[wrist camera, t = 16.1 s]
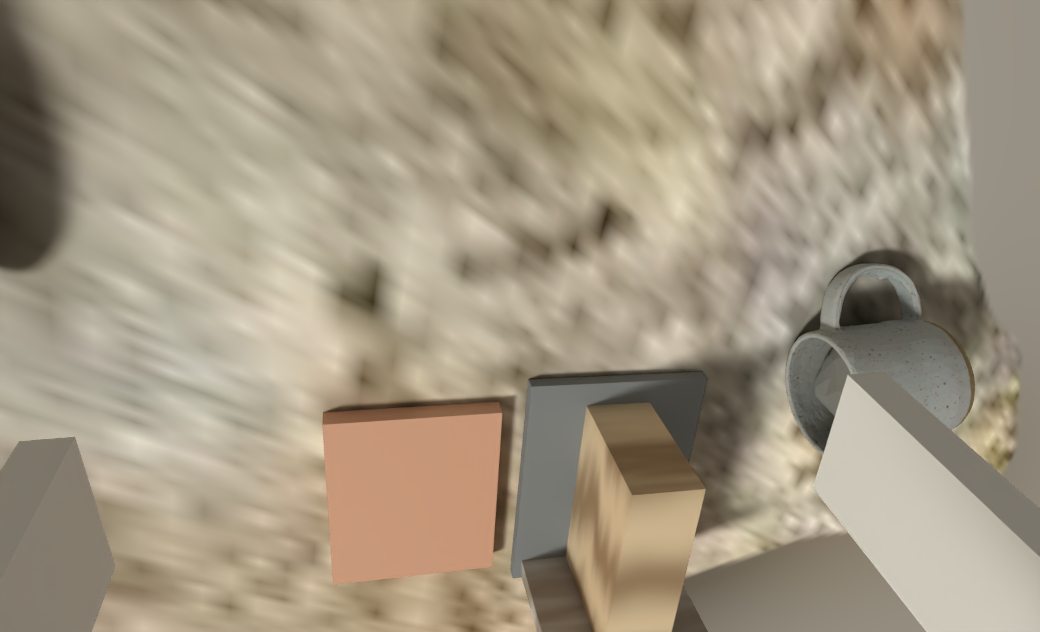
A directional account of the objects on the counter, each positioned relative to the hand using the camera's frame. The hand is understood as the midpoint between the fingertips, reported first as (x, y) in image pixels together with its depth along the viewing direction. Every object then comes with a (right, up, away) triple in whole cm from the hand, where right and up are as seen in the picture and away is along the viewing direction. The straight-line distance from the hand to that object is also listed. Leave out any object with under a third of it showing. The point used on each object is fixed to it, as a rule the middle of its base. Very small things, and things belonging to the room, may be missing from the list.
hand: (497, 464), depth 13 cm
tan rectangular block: (+6, -8, +34) cm, 35 cm away
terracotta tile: (-6, -3, +29) cm, 30 cm away
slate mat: (+6, -8, +35) cm, 36 cm away
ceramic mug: (+21, +1, +34) cm, 40 cm away
